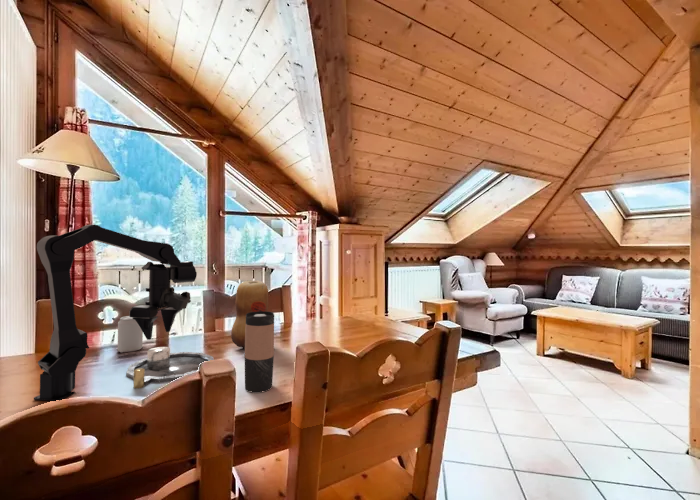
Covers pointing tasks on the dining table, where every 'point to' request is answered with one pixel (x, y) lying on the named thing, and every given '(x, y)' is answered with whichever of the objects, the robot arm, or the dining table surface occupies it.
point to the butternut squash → (248, 307)
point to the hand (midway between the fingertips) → (158, 335)
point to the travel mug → (259, 351)
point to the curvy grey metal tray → (177, 368)
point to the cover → (158, 358)
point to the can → (129, 335)
